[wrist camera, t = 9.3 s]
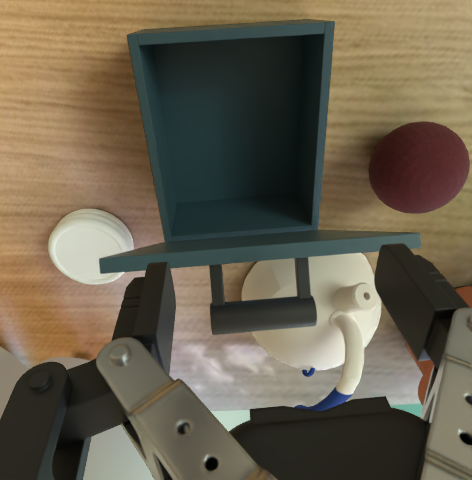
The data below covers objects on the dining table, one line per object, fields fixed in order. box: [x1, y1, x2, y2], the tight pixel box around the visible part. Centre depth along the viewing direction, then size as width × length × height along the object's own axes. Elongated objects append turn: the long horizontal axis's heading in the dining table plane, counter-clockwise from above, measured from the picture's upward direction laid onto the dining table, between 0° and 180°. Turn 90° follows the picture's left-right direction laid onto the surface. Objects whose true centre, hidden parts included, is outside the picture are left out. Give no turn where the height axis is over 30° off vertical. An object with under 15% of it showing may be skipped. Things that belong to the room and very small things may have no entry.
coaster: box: [48, 209, 134, 285], centre depth 47 cm, size 10×10×4 cm
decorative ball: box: [369, 122, 470, 213], centre depth 41 cm, size 10×10×10 cm
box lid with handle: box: [99, 230, 421, 335], centre depth 29 cm, size 20×17×5 cm
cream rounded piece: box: [241, 253, 381, 411], centre depth 48 cm, size 20×21×18 cm
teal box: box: [127, 19, 335, 242], centre depth 38 cm, size 20×17×9 cm
